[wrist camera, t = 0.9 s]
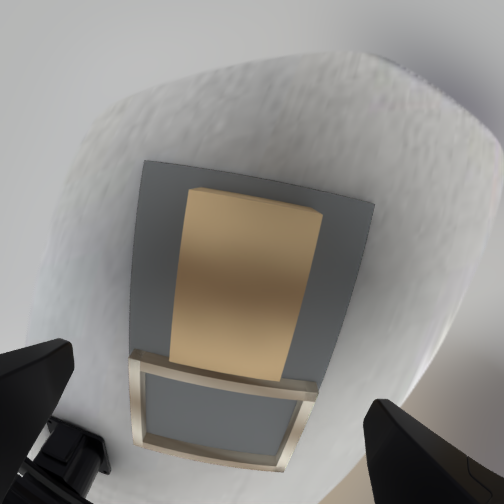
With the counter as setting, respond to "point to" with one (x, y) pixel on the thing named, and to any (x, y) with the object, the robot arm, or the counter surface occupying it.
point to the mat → (163, 293)
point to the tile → (240, 282)
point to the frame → (283, 389)
